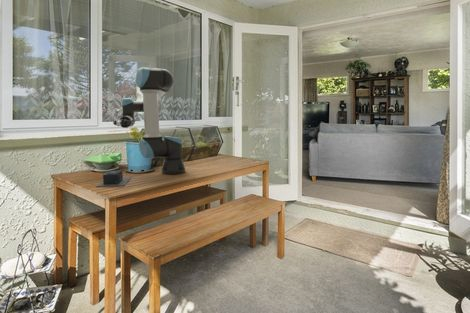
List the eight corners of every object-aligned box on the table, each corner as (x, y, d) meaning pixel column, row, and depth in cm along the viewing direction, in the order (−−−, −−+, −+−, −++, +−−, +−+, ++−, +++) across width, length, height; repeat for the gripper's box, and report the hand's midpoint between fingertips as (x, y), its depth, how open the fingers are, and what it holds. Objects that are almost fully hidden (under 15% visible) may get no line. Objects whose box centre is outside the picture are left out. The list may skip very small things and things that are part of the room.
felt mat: (131, 178, 186) (130, 177, 186) (124, 186, 167) (124, 185, 167) (106, 178, 184) (106, 177, 184) (96, 187, 165) (96, 186, 165)
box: (122, 170, 178) (118, 174, 168) (122, 179, 179) (118, 184, 169) (108, 170, 177) (102, 174, 167) (108, 180, 178) (103, 184, 168)
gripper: (136, 127, 210) (129, 129, 187) (115, 127, 208) (106, 129, 185) (135, 116, 209) (129, 117, 186) (115, 116, 207) (105, 117, 184)
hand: (117, 123), depth 186 cm, fingers closed
